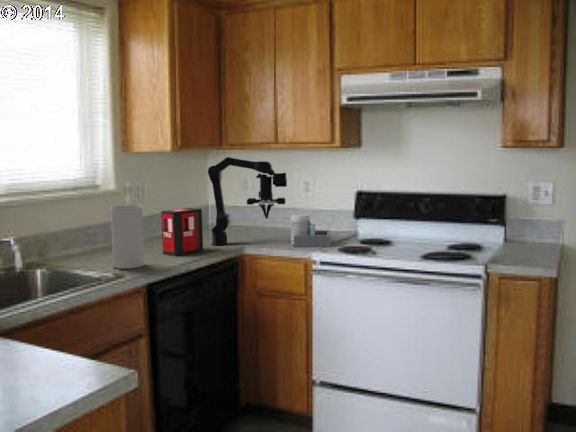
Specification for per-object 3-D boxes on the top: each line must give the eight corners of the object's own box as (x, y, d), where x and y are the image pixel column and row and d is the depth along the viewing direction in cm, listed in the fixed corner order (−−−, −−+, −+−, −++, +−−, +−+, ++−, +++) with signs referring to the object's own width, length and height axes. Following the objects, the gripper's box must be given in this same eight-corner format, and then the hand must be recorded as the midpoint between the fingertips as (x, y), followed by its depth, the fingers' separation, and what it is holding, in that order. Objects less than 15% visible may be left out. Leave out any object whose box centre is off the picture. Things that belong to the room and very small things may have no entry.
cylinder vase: (136, 262, 262) (133, 204, 259) (149, 266, 252) (147, 206, 249) (108, 266, 253) (105, 206, 251) (121, 270, 244) (118, 209, 241)
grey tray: (294, 247, 293) (293, 235, 292) (295, 241, 309) (295, 230, 309) (330, 246, 291) (330, 235, 291) (330, 241, 308) (330, 230, 308)
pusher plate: (309, 246, 294) (309, 227, 293) (310, 241, 307) (310, 224, 306) (314, 246, 294) (314, 227, 293) (315, 241, 307) (315, 224, 306)
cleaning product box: (190, 249, 292) (189, 208, 290) (203, 251, 286) (201, 209, 284) (163, 254, 280) (161, 211, 277) (175, 256, 274) (173, 212, 271)
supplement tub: (311, 245, 296) (311, 215, 295) (292, 246, 295) (292, 216, 293) (308, 242, 306) (307, 213, 304) (289, 243, 305) (289, 214, 303)
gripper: (286, 185, 306) (286, 216, 308) (249, 186, 307) (250, 216, 309) (284, 187, 295) (285, 219, 297) (246, 187, 296) (247, 219, 298)
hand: (266, 218), depth 300 cm, fingers closed
